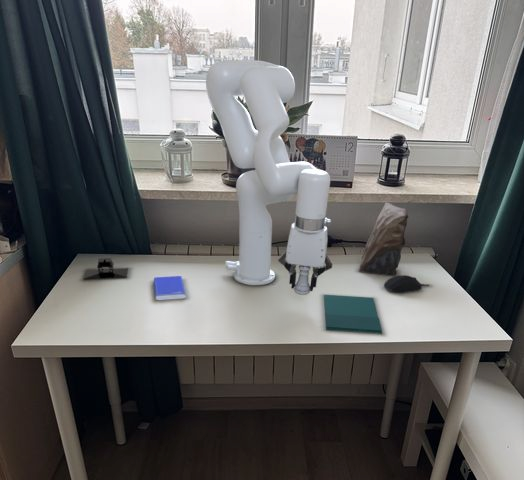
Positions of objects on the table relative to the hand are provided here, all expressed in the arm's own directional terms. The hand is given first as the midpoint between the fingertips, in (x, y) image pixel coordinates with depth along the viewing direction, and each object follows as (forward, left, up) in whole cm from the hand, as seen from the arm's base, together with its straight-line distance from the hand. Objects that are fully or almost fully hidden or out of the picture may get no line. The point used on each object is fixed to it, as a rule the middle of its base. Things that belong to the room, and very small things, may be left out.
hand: (302, 287), depth 136 cm
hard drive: (-38, +1, -6) cm, 39 cm away
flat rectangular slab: (+14, -1, -6) cm, 15 cm away
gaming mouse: (+30, +20, -6) cm, 36 cm away
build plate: (-60, +7, -6) cm, 61 cm away
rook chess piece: (0, 0, -2) cm, 2 cm away
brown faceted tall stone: (+21, +33, -6) cm, 40 cm away
